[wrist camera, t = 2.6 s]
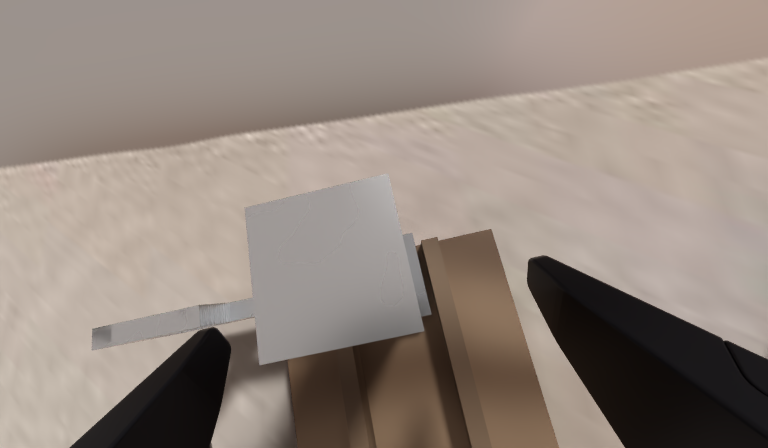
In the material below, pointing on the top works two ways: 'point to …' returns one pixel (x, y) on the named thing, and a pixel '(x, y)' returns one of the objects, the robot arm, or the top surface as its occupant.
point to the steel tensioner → (313, 277)
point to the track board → (432, 369)
